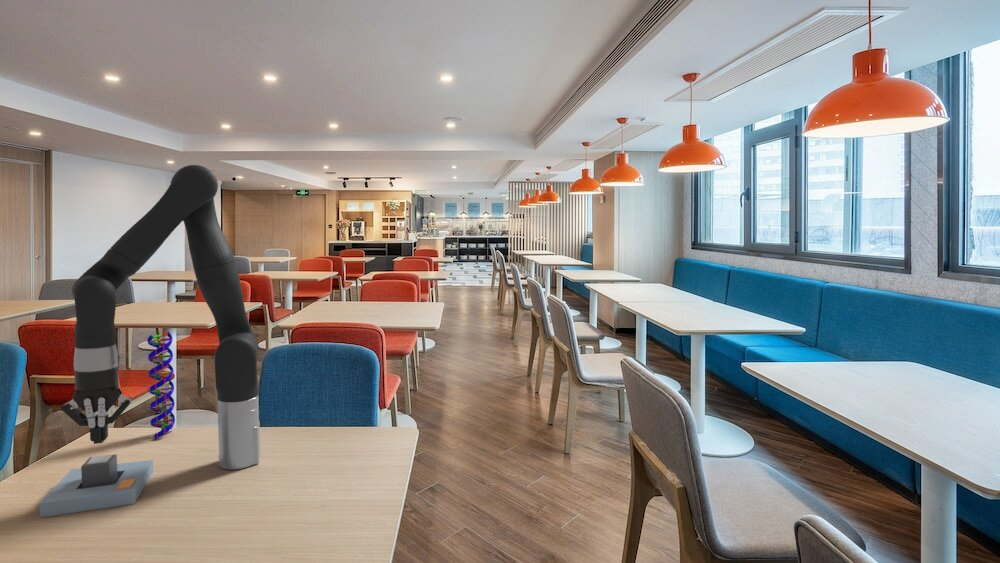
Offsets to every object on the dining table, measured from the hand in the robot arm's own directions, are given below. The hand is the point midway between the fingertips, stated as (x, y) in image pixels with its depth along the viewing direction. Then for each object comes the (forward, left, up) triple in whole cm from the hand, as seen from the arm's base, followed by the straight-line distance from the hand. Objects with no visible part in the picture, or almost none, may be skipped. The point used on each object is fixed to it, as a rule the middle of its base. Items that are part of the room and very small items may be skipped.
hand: (99, 442), depth 112 cm
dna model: (-5, -33, -12) cm, 35 cm away
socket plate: (0, 0, -12) cm, 12 cm away
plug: (0, 0, -11) cm, 11 cm away
